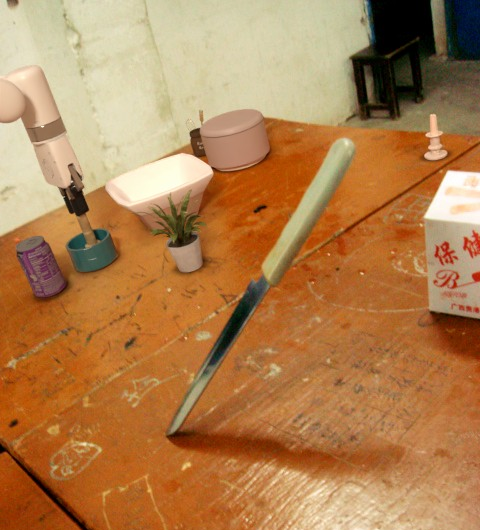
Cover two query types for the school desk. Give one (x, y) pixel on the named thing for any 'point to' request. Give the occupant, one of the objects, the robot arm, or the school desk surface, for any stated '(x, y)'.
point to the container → (235, 139)
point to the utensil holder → (197, 139)
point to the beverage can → (40, 266)
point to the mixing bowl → (92, 251)
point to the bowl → (161, 187)
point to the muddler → (86, 228)
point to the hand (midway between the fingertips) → (79, 211)
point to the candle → (434, 141)
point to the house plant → (181, 235)
